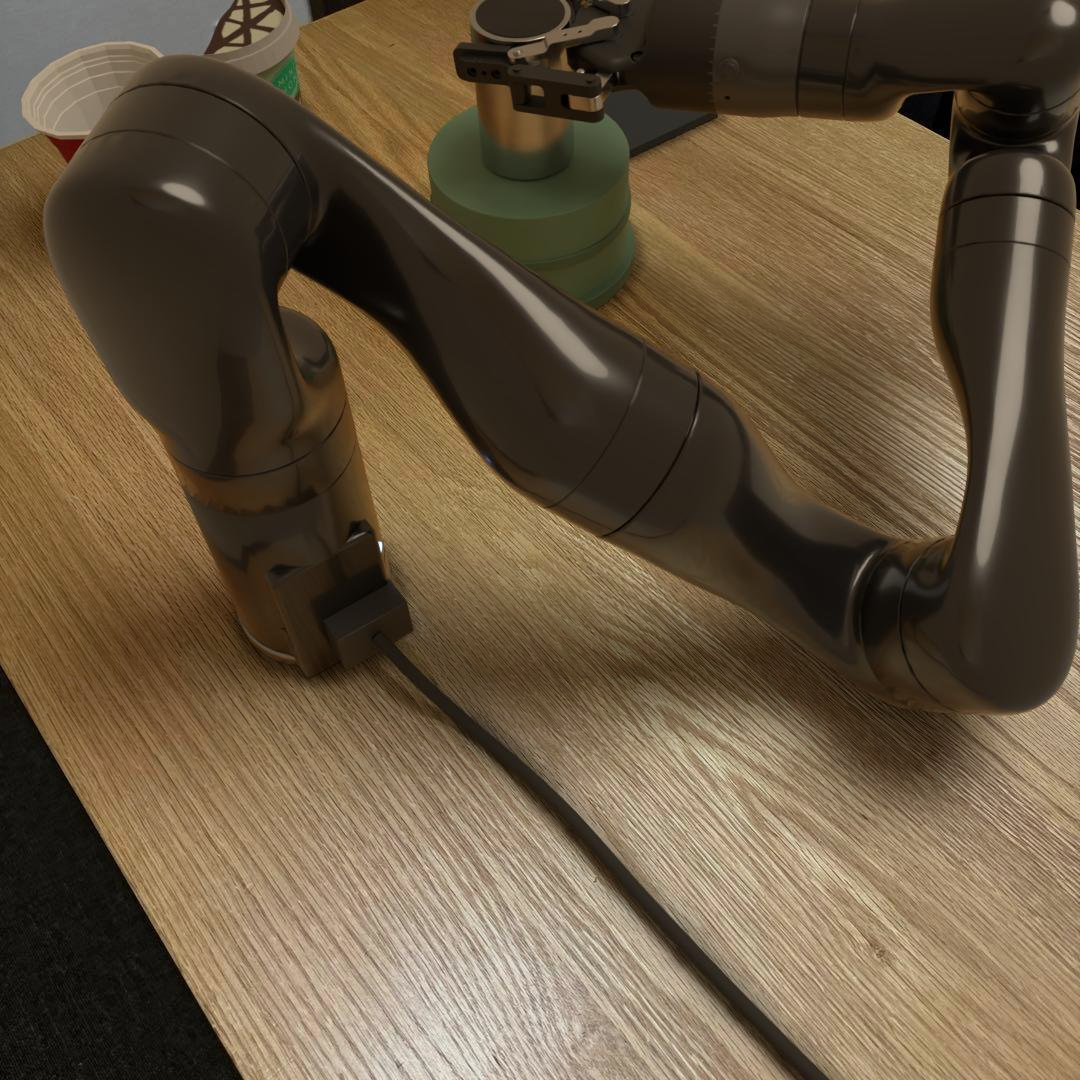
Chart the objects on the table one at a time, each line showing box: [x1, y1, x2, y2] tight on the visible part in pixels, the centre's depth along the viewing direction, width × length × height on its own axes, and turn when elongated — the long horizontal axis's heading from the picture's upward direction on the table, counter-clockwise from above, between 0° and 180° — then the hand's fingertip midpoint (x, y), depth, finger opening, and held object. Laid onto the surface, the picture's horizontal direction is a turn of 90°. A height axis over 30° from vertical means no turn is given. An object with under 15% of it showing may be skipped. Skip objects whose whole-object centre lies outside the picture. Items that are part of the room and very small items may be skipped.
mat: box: [573, 71, 719, 159], centre depth 100 cm, size 14×12×1 cm
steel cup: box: [468, 0, 574, 180], centre depth 78 cm, size 6×6×10 cm
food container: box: [198, 0, 303, 105], centre depth 96 cm, size 12×6×10 cm, turn 171°
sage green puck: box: [426, 104, 636, 310], centre depth 86 cm, size 15×15×9 cm
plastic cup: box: [20, 40, 164, 165], centre depth 89 cm, size 11×11×12 cm
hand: (477, 29), depth 76 cm, fingers closed on steel cup, 6 cm apart
